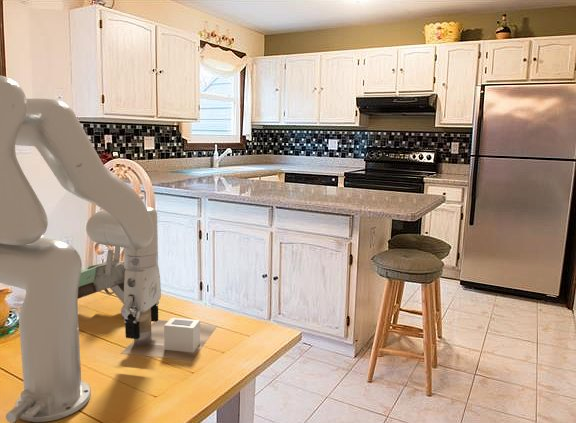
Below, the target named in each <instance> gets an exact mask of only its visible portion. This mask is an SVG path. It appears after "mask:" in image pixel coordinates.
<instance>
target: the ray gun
mask: <svg viewBox="0 0 576 423" xmlns="http://www.w3.org/2000/svg"><path fill="white" fill-rule="evenodd" d="M120 256H121V247H117V246H114V250H113V249H108V250H107V255H106V261H103V262H101V263H98V264H92V265H90V266H88V267H87V268H84V269H82V270H81V276H80V282H79V288H78V299H81V298H84V297H87V296H91V295H93V294H96V293H98V292H102V291H104V292H105V293H106V294H107V295H109V296H110V295H113V294H114V295H115V296H116V297H117V298H118V300H120V302H121V303H122V304H123V305H124V279H125V270H126V269H125V268H124V261H120ZM108 289H110V290H111V291H109V290H108ZM131 314H132V315H133V312H131Z"/></svg>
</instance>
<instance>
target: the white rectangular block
mask: <svg viewBox="0 0 576 423" xmlns="http://www.w3.org/2000/svg"><path fill="white" fill-rule="evenodd" d="M167 321H168V322H167V323H166V324H165V325H164V348H165V350H174V351H183V352H194V351H195V350H196V348H197V347H198V346H199V344H200V324H201V320H200V319H192V318H191V319H190V318H182V317H181V318H180V317H171V318H169V320H167Z"/></svg>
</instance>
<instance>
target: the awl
mask: <svg viewBox="0 0 576 423" xmlns="http://www.w3.org/2000/svg"><path fill="white" fill-rule="evenodd" d="M133 308H134V309H137V307H133ZM132 315H133V316H135V312H133V314H132ZM138 322H140V338H139V339H133V341H134V344H135V345H136V346H147V345H149V344H150V343H151V342H152V336H151V325H152V321H151V308H150V309H148V310H147V311H146V312H140V315H139V318H138Z"/></svg>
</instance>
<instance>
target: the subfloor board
mask: <svg viewBox="0 0 576 423" xmlns="http://www.w3.org/2000/svg"><path fill="white" fill-rule="evenodd" d="M168 321H169V320H165V319H162V320H161V319H158V321H157V322H154V321H153V322H152V323H151V336H152V342H151V343H150V344H149V345H147V346H136V345H135V344H134V340H133V341H132V342H131V343H129V345H127V346H126V347H125V349H123V350H122V351H121V353H120V354H123V355H133V356H141V357H151V358H152V357H153V358H161V359H169V360H179V361H188V362H193V360H194V359H195V358H196V356H197V355H198V354H199V352H200V351H201V349H202V348H203V347H204V346H205V344H206V342H207V341H208V340H209V339H210V337H211V336H212V334H213V333H214V331H215V330H216V329H217V327H218V325H215V324H203V323H200V344H199V346H198V347H197V348H196V350H195V351H194V352H183V351H174V350H165V348H164V325H165V324H166V323H167V322H168Z"/></svg>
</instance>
